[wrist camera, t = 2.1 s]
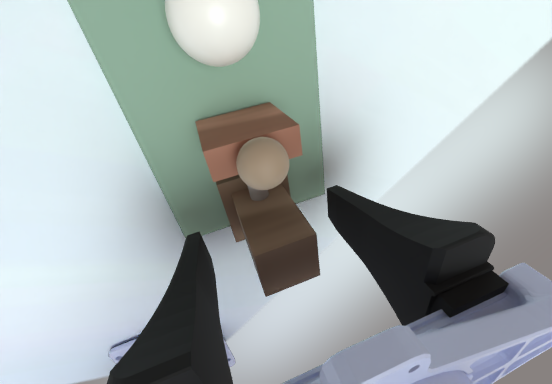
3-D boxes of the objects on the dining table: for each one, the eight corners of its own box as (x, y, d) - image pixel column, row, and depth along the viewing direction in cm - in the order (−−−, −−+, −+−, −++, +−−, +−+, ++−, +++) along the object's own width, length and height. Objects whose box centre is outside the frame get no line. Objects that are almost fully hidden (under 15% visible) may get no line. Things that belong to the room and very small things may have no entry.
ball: (255, 53, 13) (278, 61, 10) (183, 69, 12) (186, 82, 9) (238, -41, 11) (261, -65, 8) (151, -28, 10) (143, -49, 7)
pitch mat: (321, 190, 19) (324, 193, 19) (186, 235, 17) (186, 240, 17) (289, -287, 8) (295, -302, 8) (-75, -296, 7) (-90, -316, 6)
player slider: (288, 211, 18) (331, 280, 13) (232, 230, 18) (257, 311, 13) (268, 96, 14) (323, 135, 9) (193, 115, 13) (206, 170, 8)
